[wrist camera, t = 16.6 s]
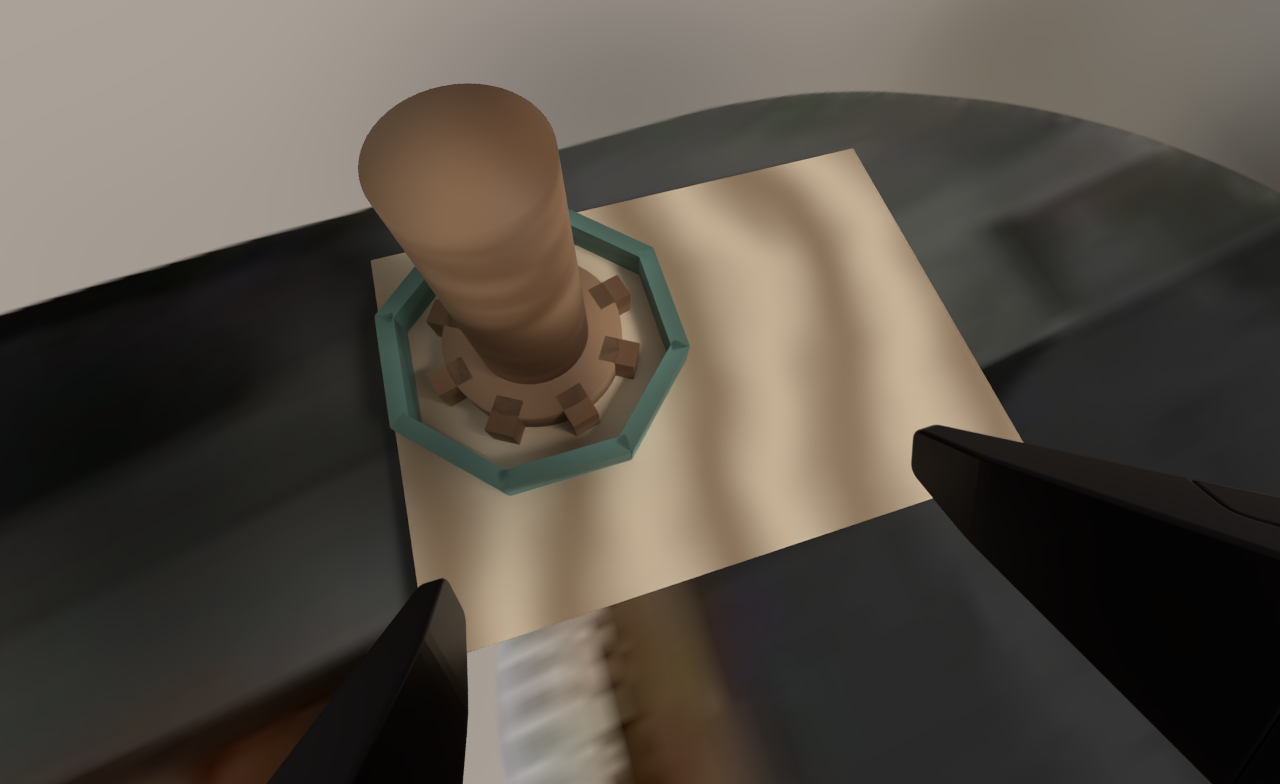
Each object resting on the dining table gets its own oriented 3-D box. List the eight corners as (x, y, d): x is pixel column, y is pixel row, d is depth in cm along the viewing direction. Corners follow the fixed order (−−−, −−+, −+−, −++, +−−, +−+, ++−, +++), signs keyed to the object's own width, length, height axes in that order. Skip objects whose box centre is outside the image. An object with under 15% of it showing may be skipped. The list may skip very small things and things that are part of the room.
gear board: (443, 658, 20) (412, 673, 17) (384, 277, 26) (354, 241, 23) (1011, 470, 23) (1063, 456, 20) (842, 168, 29) (865, 126, 26)
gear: (492, 485, 21) (346, 400, 10) (403, 316, 24) (212, 105, 13) (677, 377, 23) (720, 207, 12) (576, 231, 25) (537, -15, 15)
